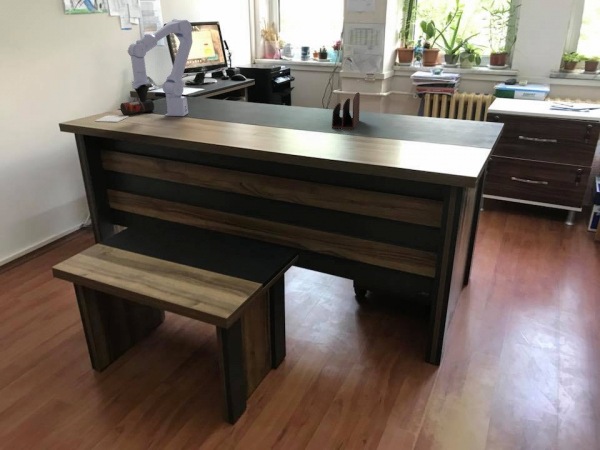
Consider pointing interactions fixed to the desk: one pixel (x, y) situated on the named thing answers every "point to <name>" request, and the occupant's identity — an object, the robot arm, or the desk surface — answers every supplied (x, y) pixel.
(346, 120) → the letter holder
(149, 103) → the deodorant
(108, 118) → the mat
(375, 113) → the desk surface
